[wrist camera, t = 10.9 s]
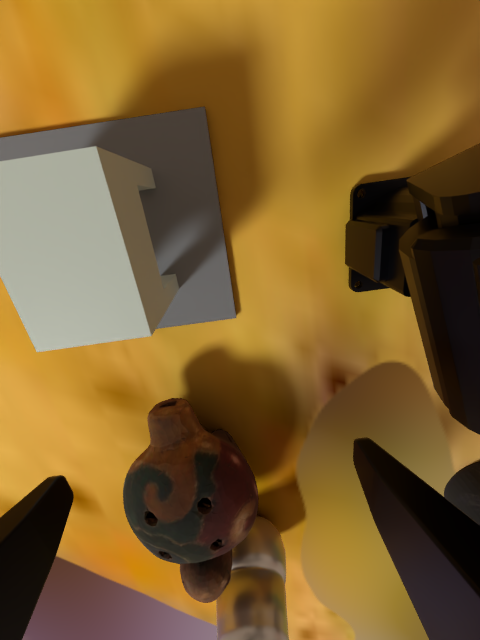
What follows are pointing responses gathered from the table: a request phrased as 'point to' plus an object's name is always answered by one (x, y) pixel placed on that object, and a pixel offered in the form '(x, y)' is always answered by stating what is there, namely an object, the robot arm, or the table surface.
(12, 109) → the table surface
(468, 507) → the travel mug
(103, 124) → the mat
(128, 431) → the table surface
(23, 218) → the notched white block
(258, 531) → the plastic bottle
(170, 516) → the painted clay ocarina
